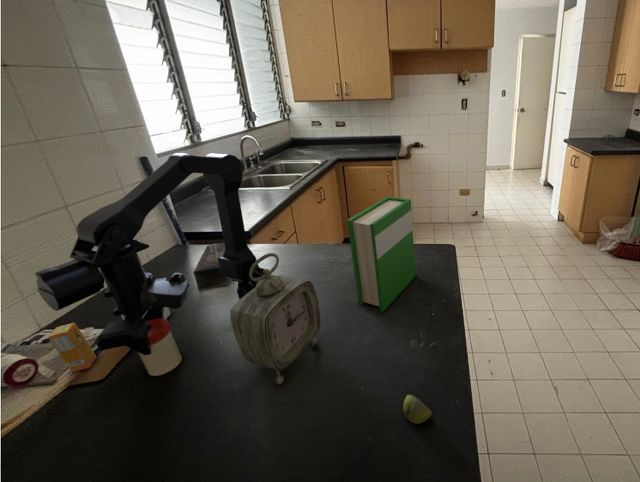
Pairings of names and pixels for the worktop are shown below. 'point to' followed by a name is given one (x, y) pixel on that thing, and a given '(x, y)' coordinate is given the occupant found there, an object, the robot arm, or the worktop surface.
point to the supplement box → (72, 347)
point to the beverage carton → (210, 268)
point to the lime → (415, 410)
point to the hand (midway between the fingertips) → (154, 343)
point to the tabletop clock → (276, 319)
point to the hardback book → (382, 250)
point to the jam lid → (158, 329)
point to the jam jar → (162, 356)
